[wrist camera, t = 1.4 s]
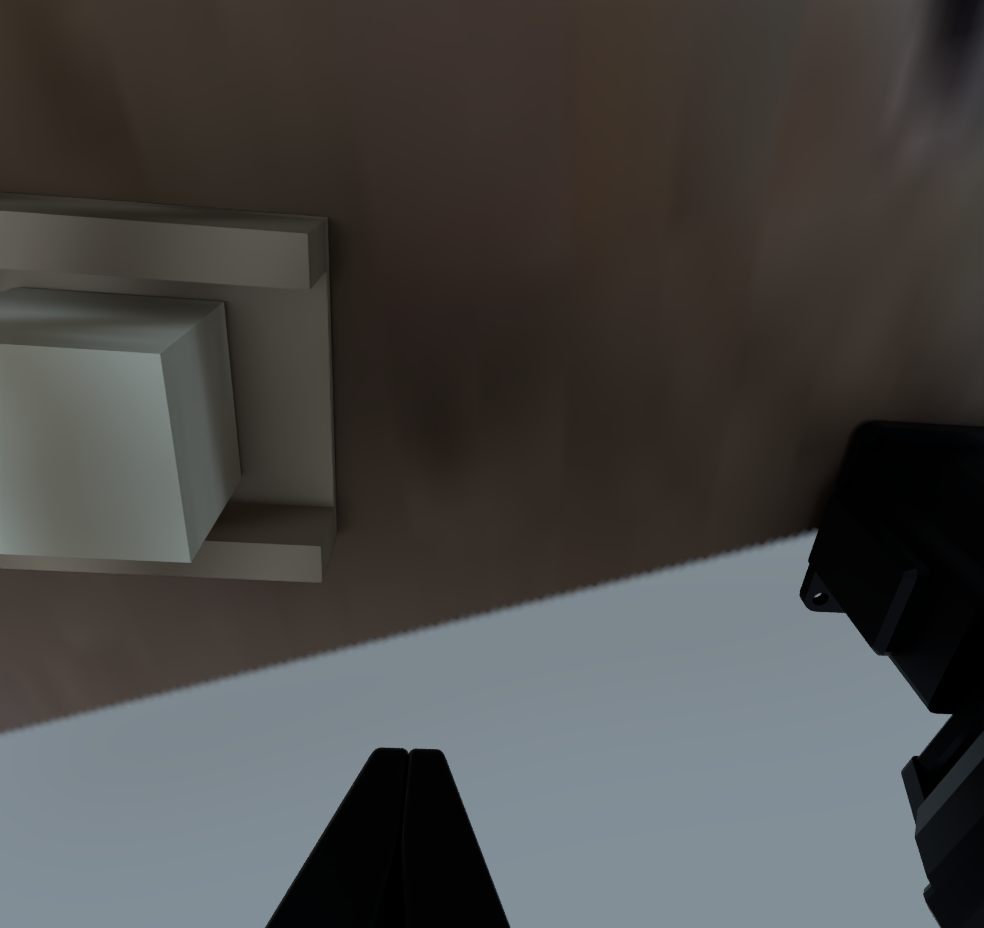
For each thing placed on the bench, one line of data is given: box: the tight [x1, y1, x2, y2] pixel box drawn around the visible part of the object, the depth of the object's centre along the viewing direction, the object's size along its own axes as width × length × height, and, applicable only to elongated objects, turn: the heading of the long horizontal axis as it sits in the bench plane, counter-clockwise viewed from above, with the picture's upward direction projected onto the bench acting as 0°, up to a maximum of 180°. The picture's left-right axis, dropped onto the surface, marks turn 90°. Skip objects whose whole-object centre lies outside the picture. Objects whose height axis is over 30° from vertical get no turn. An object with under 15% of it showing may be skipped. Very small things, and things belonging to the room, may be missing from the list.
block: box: [0, 287, 241, 563], centre depth 16 cm, size 5×5×4 cm
